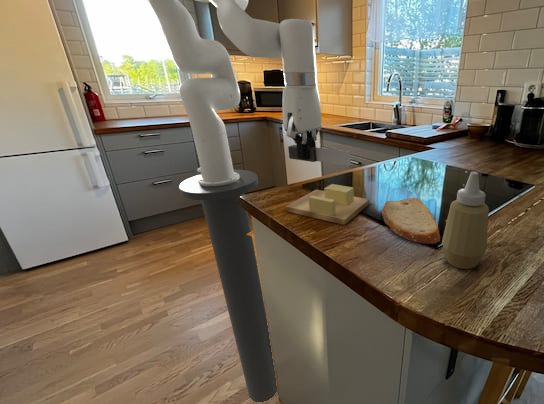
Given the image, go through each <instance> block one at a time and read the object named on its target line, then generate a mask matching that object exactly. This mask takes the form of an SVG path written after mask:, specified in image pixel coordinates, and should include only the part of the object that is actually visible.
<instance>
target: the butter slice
mask: <svg viewBox="0 0 544 404" xmlns="http://www.w3.org/2000/svg"><path fill="white" fill-rule="evenodd" d="M309 208H310V211H313V212H317V213H322V214H326V215H331V216H333V215H335V214H336V209H335V200H333V199H327V198H322V197H317V196H310V197H309Z"/></svg>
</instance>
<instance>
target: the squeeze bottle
mask: <svg viewBox="0 0 544 404" xmlns="http://www.w3.org/2000/svg"><path fill="white" fill-rule="evenodd" d="M485 201H486V193H485V192H484V191H482V190H481V189H480V179H479V173H478V172H477V171H471V172H470V174H469V176H468V179H467V182H466V183H465V187H464V188H460V189H458V190H457V193H456V199H455V200H453V201H451V203H450V204H449V205H450V206H449V210H448V214H447V218H446V223H445V227H444V231H443V235H442V240H441V243H442V247H443V251H444V255H445V259H446V262H447V263H448V264H449V265H451V266H453V267H455V268H458V269H462V270H469V269H474V268H475V267H477V266H478V264H479V263H480V261H481V259H482V258H483V257H484V255H485V254H486V251H487V247H488V246H487V245H488V231H489V211H490V208H489V207H488V205H487V204H486V203H485Z"/></svg>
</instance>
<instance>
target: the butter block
mask: <svg viewBox="0 0 544 404" xmlns="http://www.w3.org/2000/svg"><path fill="white" fill-rule="evenodd" d="M323 191H325V198H327V199H333V200H335V203H337V204H342V205H348V204H350V203H351V202H352V201H354V197H355V188H354V187H353V186H347V185H340V184H335V183H331V184H329V185H327V186H326V187H324V189H323Z"/></svg>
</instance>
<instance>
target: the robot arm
mask: <svg viewBox="0 0 544 404" xmlns="http://www.w3.org/2000/svg"><path fill="white" fill-rule="evenodd" d="M195 1H197V2H201V3H211V4H212V5H214V6H215V8H216V15H217V21H218V24H219V26H220V29H221V31H222V32H223V34H224V35H225V37H226V38H227V39H228V40H230V42H231V43H232V44H233V45H234V46H235V47H236V49H238V50H239V51H240V52H241V53H243V54H244V55H246V56H249V57H251V58H262V59H263V58H265V59H266V58H267V59H277V60H282V69H283V78H284V79H283V80H284V87H283V88H282V97H281V98H282V103H281V104H282V107H281V108H282V109H281V110H282V122H283V123H282V124H283V129H284V130H285V131H286V137H288V138H290V139H292V140H293V141H294V144H295V145H297V155H298V159H304V160H308V159H309V152H308V147H317V146H316V145H317V143H316V142H317V140H318V137H317V135H318V134H319V132H320V131H321V129H322V105H321V100H320V93H319V88H318V76H317V57H316V42H315V30H314V25H313V23H312V22H311V21H310V20H307V19H302V18H287V19H284V20H282V21H280V23H279V22H273V21H270V20H263V19H258V18H253V17H251V16H250V15H249V14H248V13H247V12H246V9H247V7H248V4H249V0H195ZM148 2H149V5H150V6H151V8H152V9H153V11H154V13H155V15H156V17H157V19H158V21H159V23H160V25H161V29H162V33H163V36H164V37H165V41H166V44H167V47H168V49H169V53H170V55H171V58H172V61H173V63H174V65H175V67H176V68H177V69H178V70H179V71H180V72H181V73H185V74H189V75H202V74H203V75H206V74H207V75H210V76H211V77H193V78H188V79H185V80H184V81H182V83H181V84H180V85H179V88H178V94H179V98H180V101H181V103H182V105H183V106H182V107H183V108H184V110H185V112H186V115H187V118H188V121H189V125H190V129H191V133H192V137H193V142H194V145H195V149H196V154H197V158H198V162H199V167H197V168H196V172H197V173H198V174H199V173H200V174H201V175H202V177H201V178H199V180H198V182H199V184H200V185H202V186H208V187H213V186H223V185H227V184H231V183H234V182H236V181H237V180H239V178H240V176H239V174H238V173H236V172H234V170H235V169H234V166H233V160H232V155H231V149H230V144H229V139H228V134H227V133H228V132H227V128H226V125H225V123H224V121H223V120H222V118H221V117H220V116H219V115H218V113H217V112H219V111H225V110H232V109H235V108H237V107H239V105H240V102H241V91H240V86H239V82H238V80H237V76H236V73H235V69H234V66H233V63H232V59H231V56H230V54H229V52H228V50H227V49H226V47H225V46H224V45H223V44H222V43H221V42H219V41H218V40H216V39H210V38H202V37H201V36H200V34H199V32H198V29H197V26H196V23H195V20H194V18H193V17H192V14H191V13H190V12H189V11H188V9H187V8H186V7H185V6H184V5H183V4H182V2H180V0H148Z"/></svg>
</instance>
